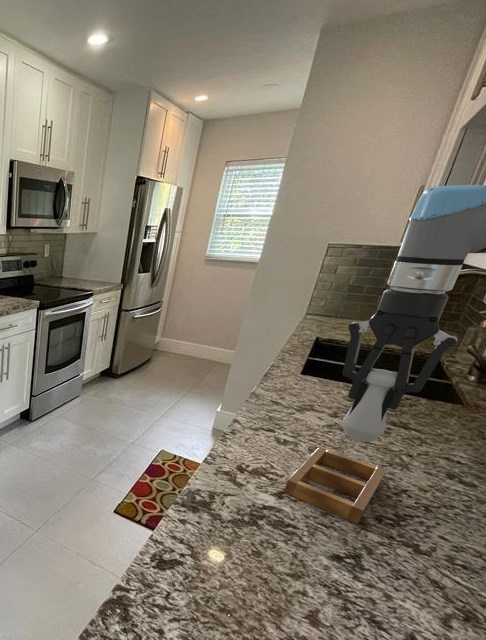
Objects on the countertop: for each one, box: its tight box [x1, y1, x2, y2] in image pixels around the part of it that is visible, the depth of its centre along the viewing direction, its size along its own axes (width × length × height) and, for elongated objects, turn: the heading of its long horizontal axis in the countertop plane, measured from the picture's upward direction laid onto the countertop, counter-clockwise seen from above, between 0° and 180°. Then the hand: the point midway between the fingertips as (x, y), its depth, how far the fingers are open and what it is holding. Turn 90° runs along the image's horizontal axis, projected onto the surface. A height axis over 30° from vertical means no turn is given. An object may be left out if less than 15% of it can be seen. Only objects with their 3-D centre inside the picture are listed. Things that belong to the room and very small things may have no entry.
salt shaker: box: [342, 368, 398, 443], centre depth 74 cm, size 6×6×13 cm
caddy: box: [283, 446, 387, 525], centre depth 84 cm, size 12×22×3 cm, turn 129°
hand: (365, 419), depth 75 cm, fingers closed on salt shaker, 3 cm apart
